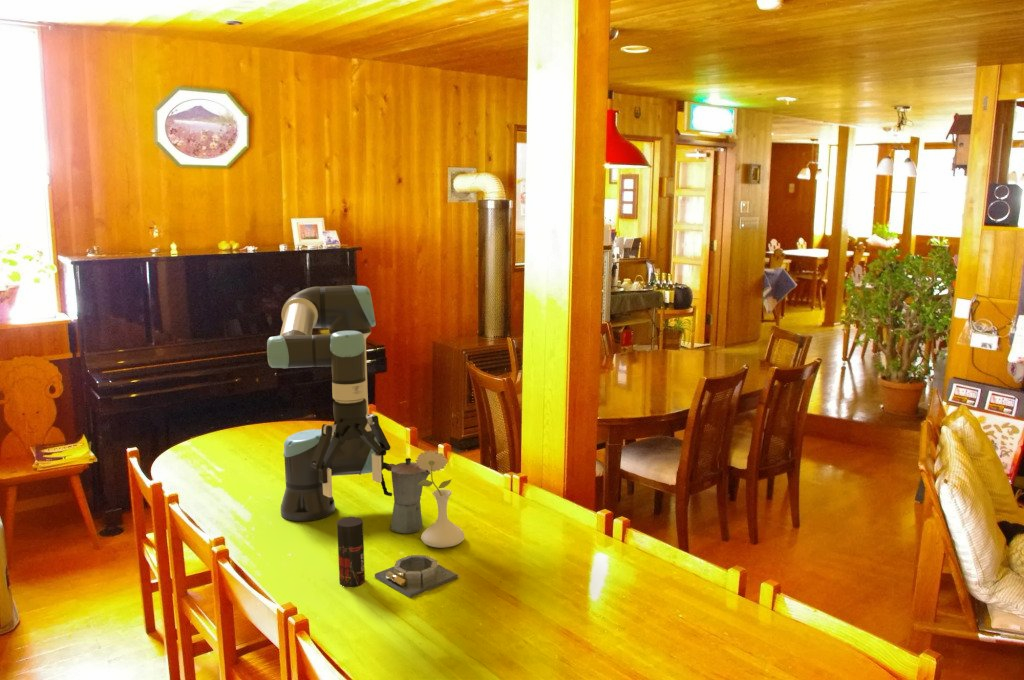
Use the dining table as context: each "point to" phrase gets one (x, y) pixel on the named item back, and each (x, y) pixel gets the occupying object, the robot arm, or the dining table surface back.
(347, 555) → the deodorant
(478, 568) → the dining table surface
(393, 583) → the socket mount
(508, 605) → the dining table surface
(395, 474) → the moka pot
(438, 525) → the flower in vase
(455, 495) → the dining table surface
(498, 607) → the dining table surface
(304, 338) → the robot arm
